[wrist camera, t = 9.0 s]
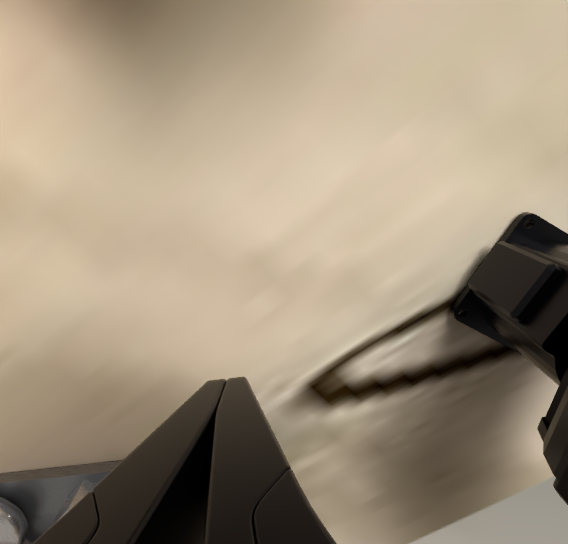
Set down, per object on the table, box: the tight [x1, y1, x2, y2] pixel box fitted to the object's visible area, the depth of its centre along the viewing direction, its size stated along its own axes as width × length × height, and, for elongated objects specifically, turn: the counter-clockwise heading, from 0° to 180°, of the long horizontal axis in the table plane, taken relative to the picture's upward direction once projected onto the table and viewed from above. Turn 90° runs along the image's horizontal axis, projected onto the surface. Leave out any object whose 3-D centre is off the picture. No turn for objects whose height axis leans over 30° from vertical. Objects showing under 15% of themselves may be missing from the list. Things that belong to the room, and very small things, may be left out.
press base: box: [0, 460, 123, 543], centre depth 24 cm, size 11×17×3 cm
